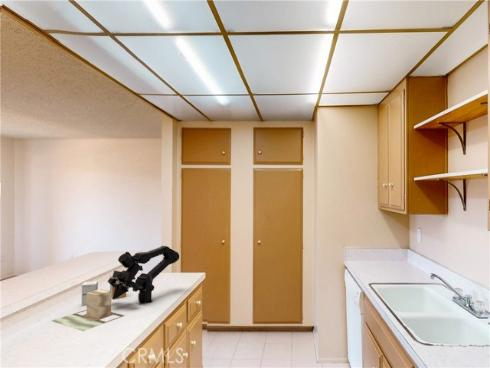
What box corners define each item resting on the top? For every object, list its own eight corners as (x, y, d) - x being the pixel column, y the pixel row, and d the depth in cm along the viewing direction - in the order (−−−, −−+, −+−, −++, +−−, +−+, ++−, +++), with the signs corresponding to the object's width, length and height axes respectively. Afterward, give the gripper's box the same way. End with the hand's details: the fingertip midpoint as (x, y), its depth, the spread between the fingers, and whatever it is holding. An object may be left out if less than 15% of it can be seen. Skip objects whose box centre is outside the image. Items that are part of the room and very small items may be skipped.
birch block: (101, 310, 174) (101, 289, 174) (111, 313, 170) (111, 291, 170) (86, 315, 167) (86, 292, 168) (96, 318, 163) (96, 295, 163)
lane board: (93, 310, 180) (93, 307, 180) (125, 318, 167) (125, 315, 167) (51, 324, 161) (51, 320, 161) (83, 334, 148) (83, 331, 148)
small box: (112, 299, 199) (112, 276, 199) (109, 296, 204) (109, 274, 205) (126, 297, 203) (126, 274, 204) (123, 294, 209) (123, 272, 209)
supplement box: (81, 308, 183) (81, 284, 183) (83, 304, 190) (83, 281, 190) (96, 307, 185) (96, 283, 185) (98, 303, 192) (98, 280, 192)
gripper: (110, 262, 186) (92, 288, 176) (134, 265, 176) (115, 292, 166) (122, 274, 192) (105, 299, 182) (146, 278, 182) (129, 304, 173)
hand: (113, 299), depth 176 cm, fingers closed
